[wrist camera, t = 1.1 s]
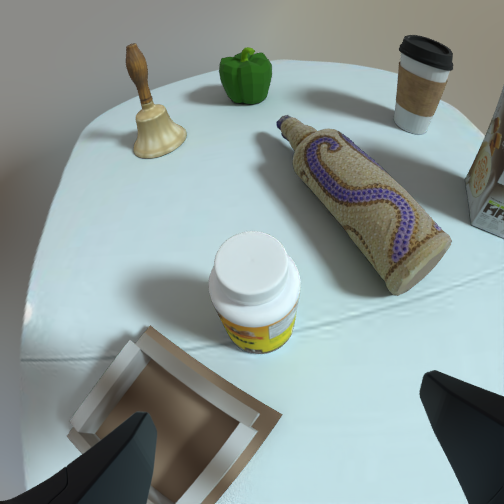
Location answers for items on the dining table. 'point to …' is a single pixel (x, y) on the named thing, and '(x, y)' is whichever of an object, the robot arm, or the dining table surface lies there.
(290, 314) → the supplement bottle
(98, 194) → the dining table surface
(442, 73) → the coffee cup
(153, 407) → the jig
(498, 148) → the coffee box
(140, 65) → the hand bell
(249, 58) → the bell pepper
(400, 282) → the decorative bottle
